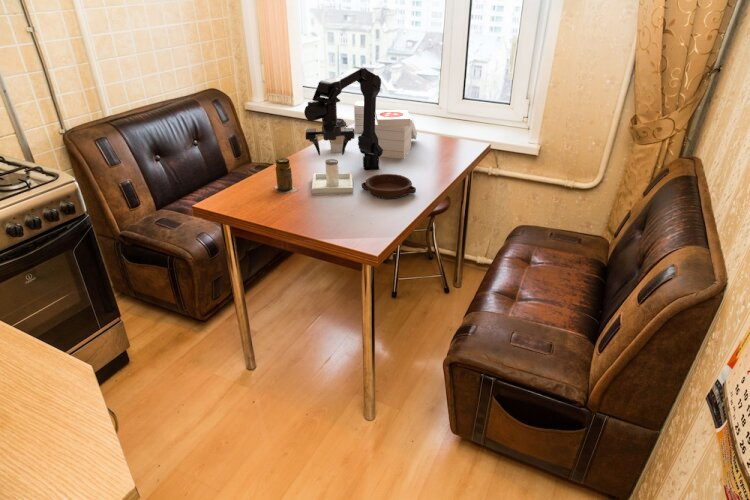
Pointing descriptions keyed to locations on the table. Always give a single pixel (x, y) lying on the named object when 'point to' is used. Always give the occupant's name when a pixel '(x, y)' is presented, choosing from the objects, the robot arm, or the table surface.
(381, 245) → the table surface
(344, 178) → the tray
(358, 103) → the supplement box
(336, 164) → the jar
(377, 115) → the pizza boxes
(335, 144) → the coffee cup
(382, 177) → the dish
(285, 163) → the condiment
